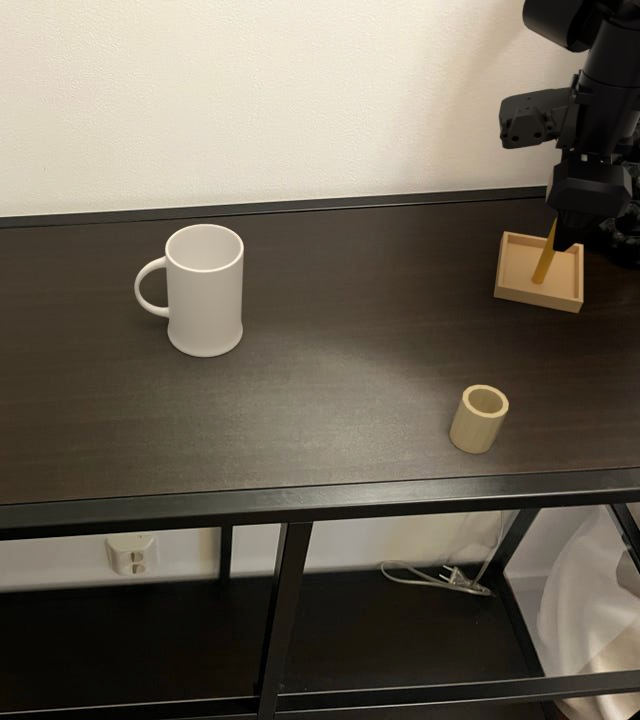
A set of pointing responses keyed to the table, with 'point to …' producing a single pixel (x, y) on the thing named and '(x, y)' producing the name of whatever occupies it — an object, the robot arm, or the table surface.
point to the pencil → (545, 259)
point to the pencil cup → (478, 418)
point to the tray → (520, 265)
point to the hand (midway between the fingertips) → (559, 224)
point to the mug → (201, 289)
